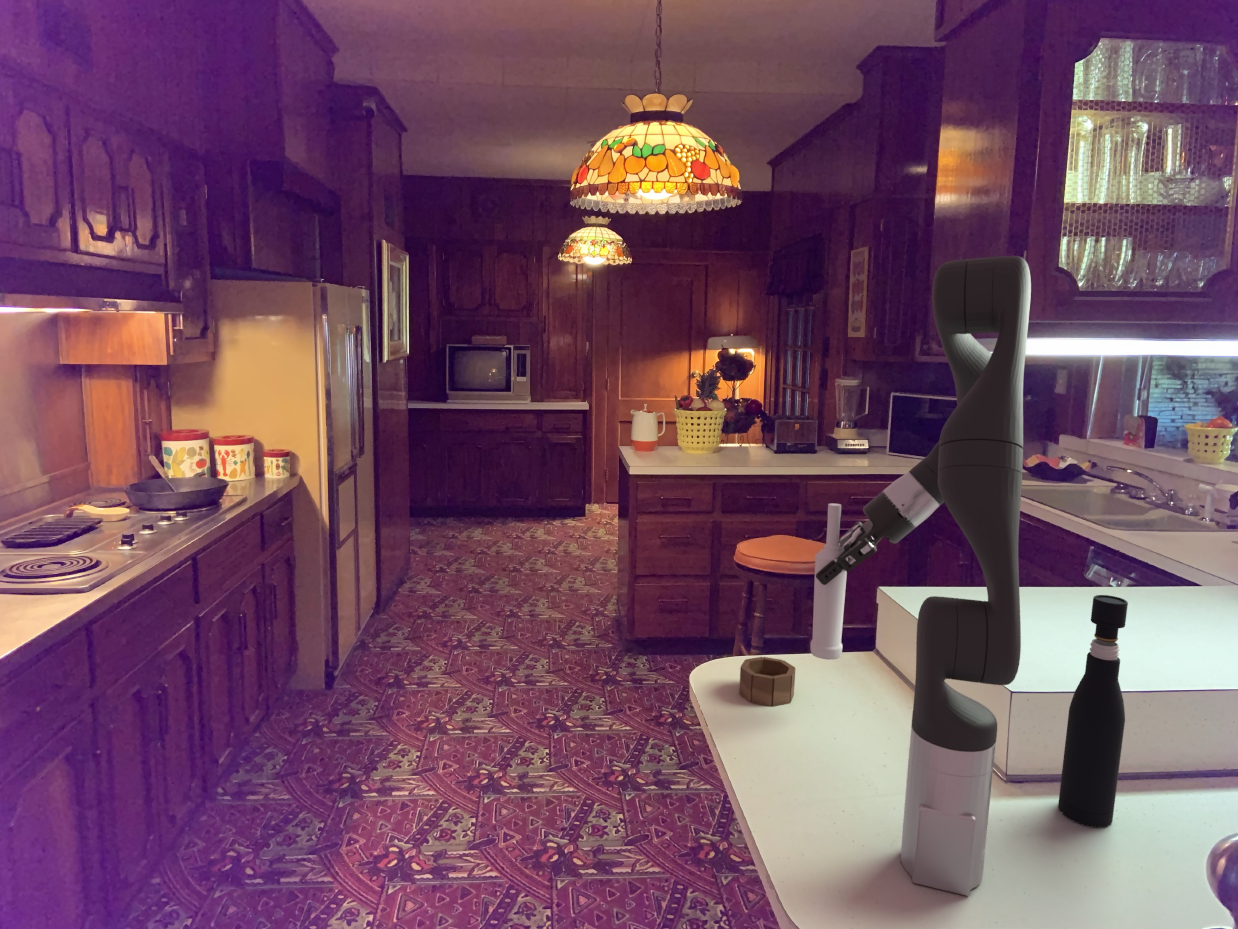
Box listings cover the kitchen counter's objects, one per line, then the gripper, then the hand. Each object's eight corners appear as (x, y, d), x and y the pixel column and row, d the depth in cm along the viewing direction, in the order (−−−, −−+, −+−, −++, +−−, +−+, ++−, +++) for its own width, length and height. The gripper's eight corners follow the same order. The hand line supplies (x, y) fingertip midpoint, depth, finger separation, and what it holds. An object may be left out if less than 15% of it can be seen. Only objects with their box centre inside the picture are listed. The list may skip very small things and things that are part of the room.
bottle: (839, 649, 140) (848, 502, 136) (844, 661, 135) (854, 508, 131) (808, 647, 140) (816, 501, 137) (811, 659, 135) (820, 507, 132)
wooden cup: (787, 709, 142) (789, 681, 141) (735, 700, 145) (736, 672, 144) (796, 688, 150) (798, 662, 149) (747, 680, 153) (748, 654, 152)
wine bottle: (1047, 806, 114) (1071, 594, 109) (1079, 796, 117) (1103, 589, 112) (1090, 832, 108) (1117, 609, 103) (1123, 821, 111) (1151, 603, 106)
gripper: (879, 482, 139) (802, 548, 143) (890, 497, 125) (803, 570, 129) (911, 516, 139) (832, 580, 143) (924, 534, 125) (837, 606, 129)
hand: (819, 575), depth 136 cm, fingers closed on bottle, 5 cm apart
